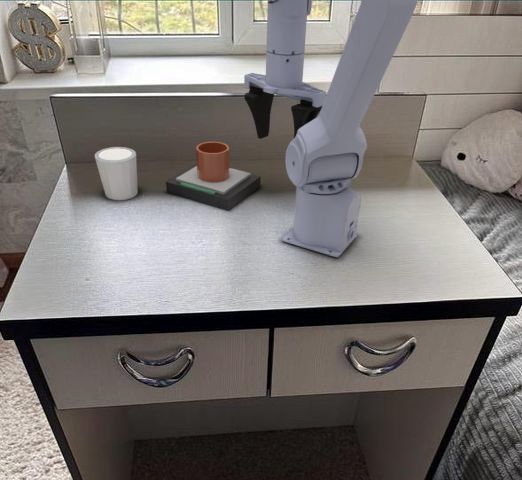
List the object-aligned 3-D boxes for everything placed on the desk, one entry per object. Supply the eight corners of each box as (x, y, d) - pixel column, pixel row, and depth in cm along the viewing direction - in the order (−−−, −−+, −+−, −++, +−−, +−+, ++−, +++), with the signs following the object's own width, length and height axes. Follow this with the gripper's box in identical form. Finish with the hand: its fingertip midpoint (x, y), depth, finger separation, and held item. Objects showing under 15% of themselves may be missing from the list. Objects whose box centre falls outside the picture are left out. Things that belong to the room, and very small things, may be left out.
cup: (235, 173, 94) (235, 145, 90) (218, 185, 90) (217, 156, 86) (209, 166, 96) (208, 139, 92) (191, 177, 92) (189, 149, 88)
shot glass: (94, 197, 91) (86, 158, 86) (114, 182, 96) (108, 143, 91) (129, 204, 89) (123, 164, 85) (148, 188, 94) (143, 149, 89)
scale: (260, 186, 96) (260, 173, 94) (228, 210, 89) (228, 196, 87) (201, 171, 100) (200, 157, 99) (166, 192, 93) (165, 178, 91)
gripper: (231, 46, 79) (232, 138, 88) (309, 64, 72) (302, 161, 81) (260, 39, 83) (258, 127, 92) (337, 55, 76) (327, 148, 85)
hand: (280, 142), depth 87 cm, fingers open, 7 cm apart
